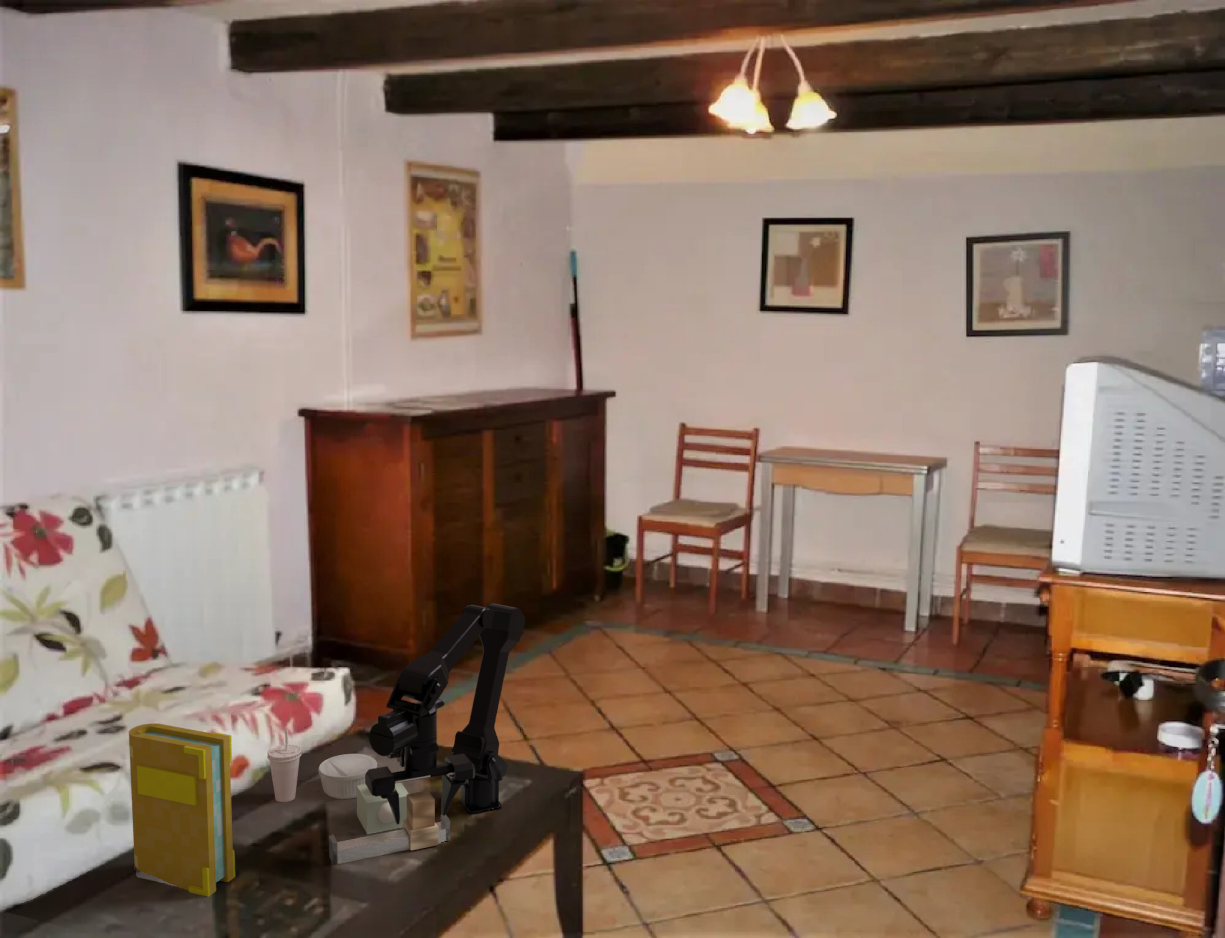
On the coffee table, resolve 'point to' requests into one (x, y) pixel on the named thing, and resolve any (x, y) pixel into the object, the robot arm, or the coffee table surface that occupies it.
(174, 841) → the book
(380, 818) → the cabinet
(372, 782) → the robot arm
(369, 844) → the rail
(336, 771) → the ramekin
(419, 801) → the carriage
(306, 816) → the coffee table surface
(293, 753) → the smoothie
